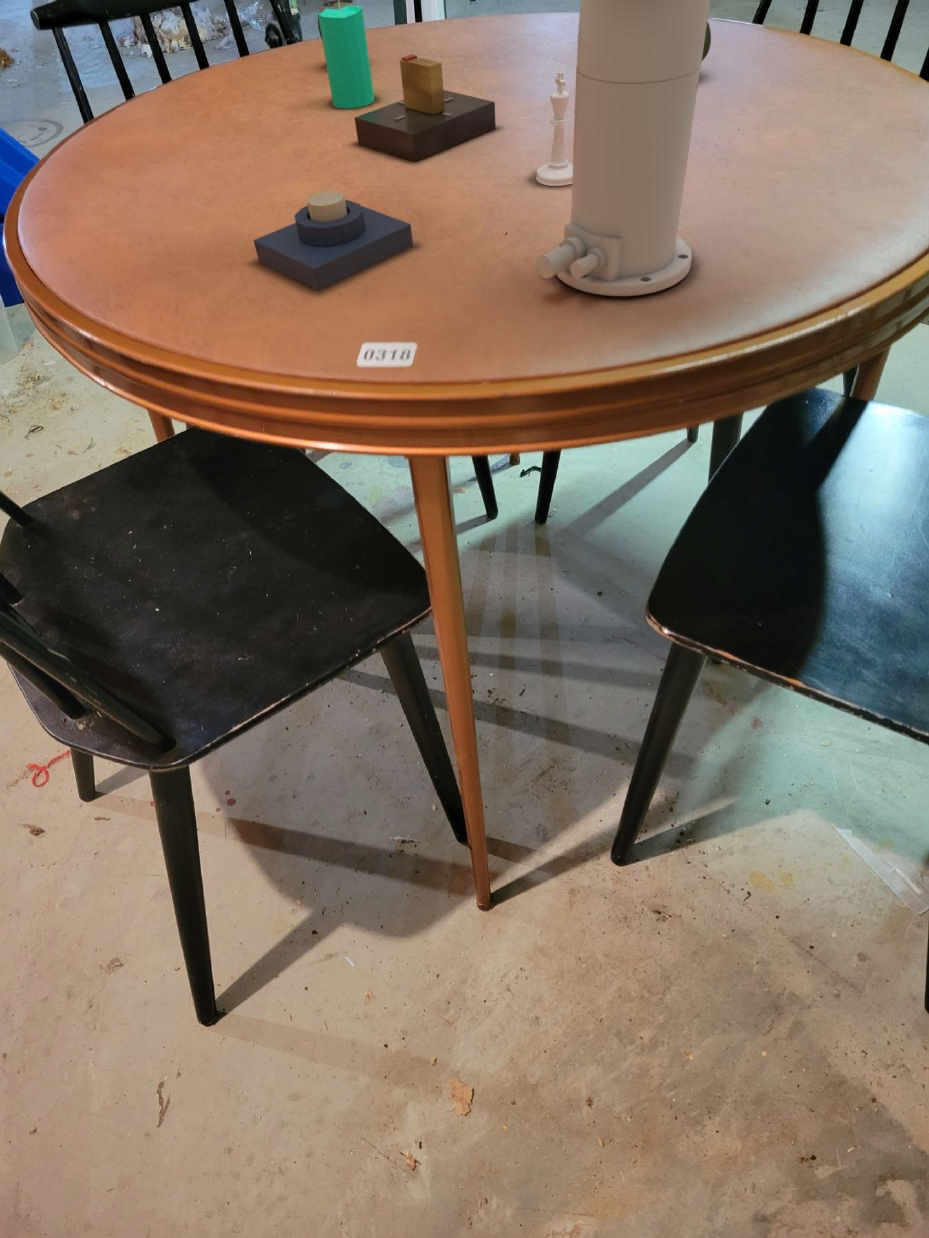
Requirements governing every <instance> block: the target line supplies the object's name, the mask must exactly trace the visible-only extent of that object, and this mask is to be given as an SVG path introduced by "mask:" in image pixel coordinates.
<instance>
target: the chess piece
mask: <svg viewBox="0 0 929 1238" xmlns="http://www.w3.org/2000/svg"><path fill="white" fill-rule="evenodd" d="M554 80H555V81H554V83H555V84H556V87H557V90H556V91H553V92H552V93H551V94H550V96H549V97H550V98H549V99H550V102H551V105H552V110H553V113H554V116H552V117H550V119H549V122H548V123H549V125H551V126H554V131H553V141H552V146H551V147H552V148H551V155H550V159H549V160H548V161H547V163H546V164H543V165H542V166H540V167H539V168H538V169H537V171H536V176H535V180H536V182H538V183H539V184H541V185H544V186H547V187H562V186H564V187H565V186H569V185H572V174H573V163H571V162H570V161H569V159H568V158H567V153H566V143H565V142H566V141H565V130H564V126H565V125H568V124H569V123H570V119H569V117H568V116H566V115H565V112H566V110H567V106H568V102H569V100H570V93H569V92H568V91H565V90H564V88H565V87H566V81H565V80H564V72H563V71H558V72H557V77H555V79H554Z"/></svg>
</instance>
